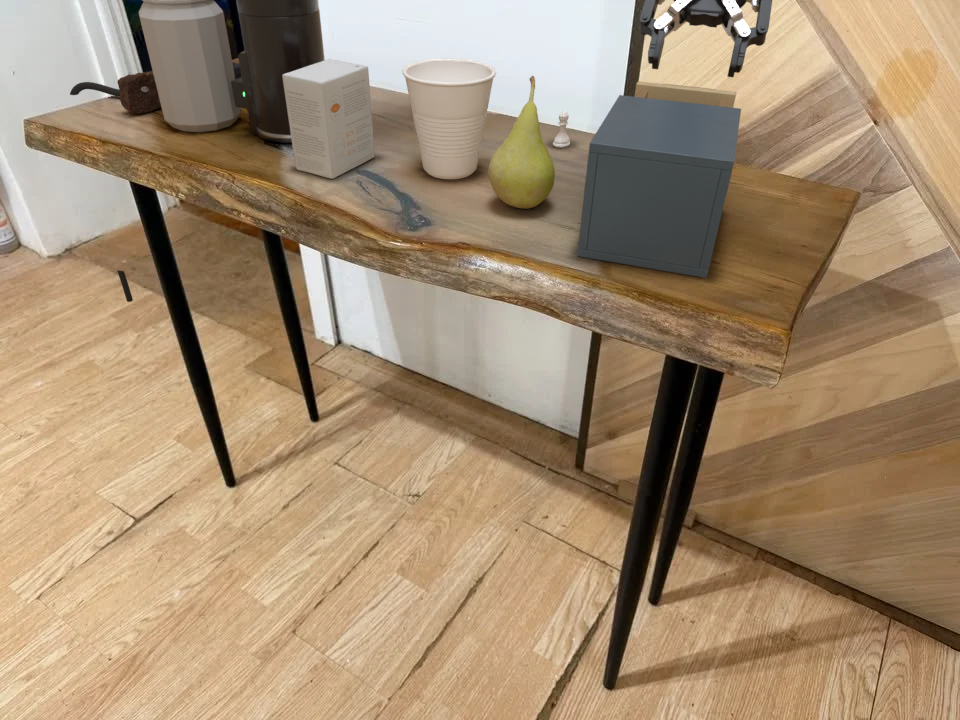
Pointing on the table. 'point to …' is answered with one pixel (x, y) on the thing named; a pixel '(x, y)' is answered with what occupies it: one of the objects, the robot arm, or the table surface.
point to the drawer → (685, 94)
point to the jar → (190, 63)
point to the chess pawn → (562, 132)
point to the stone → (139, 92)
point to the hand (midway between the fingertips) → (692, 69)
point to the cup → (449, 112)
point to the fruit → (523, 162)
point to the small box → (329, 117)
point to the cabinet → (658, 184)
